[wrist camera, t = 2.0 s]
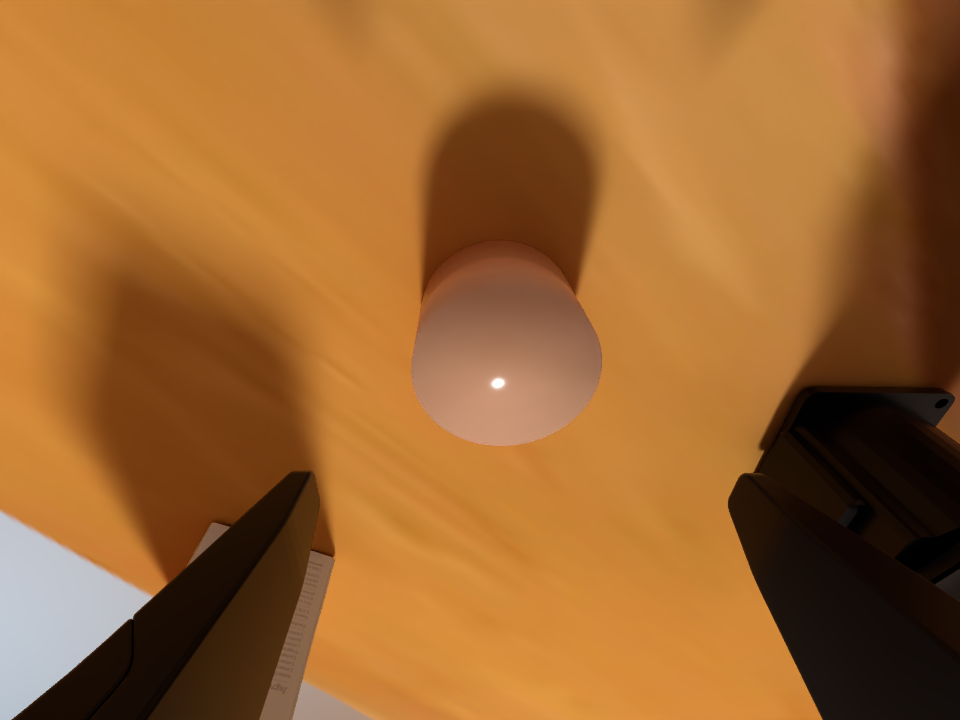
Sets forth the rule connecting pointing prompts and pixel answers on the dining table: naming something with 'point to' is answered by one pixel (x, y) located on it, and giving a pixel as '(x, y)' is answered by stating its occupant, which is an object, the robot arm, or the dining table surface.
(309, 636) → the small box
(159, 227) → the dining table surface
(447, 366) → the brown rounded cylinder
